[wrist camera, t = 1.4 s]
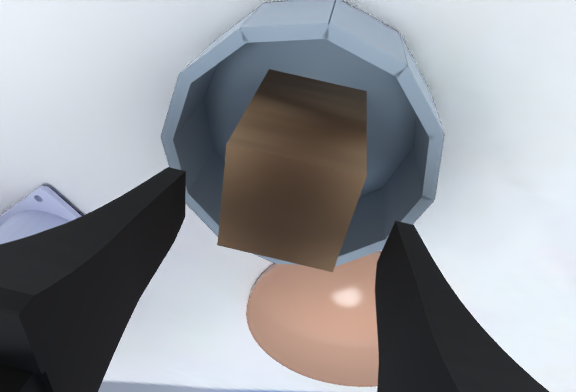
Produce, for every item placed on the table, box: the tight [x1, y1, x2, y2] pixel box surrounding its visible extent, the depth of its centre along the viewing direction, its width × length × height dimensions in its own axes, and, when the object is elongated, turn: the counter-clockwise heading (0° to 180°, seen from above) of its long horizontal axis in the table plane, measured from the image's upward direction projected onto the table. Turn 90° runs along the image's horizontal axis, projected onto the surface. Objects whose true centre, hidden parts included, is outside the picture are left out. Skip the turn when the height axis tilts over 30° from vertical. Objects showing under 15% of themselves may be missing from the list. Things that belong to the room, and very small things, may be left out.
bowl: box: [161, 0, 444, 267], centre depth 18 cm, size 11×11×4 cm
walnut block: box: [217, 69, 367, 272], centre depth 17 cm, size 4×4×7 cm
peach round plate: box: [246, 251, 381, 387], centre depth 28 cm, size 14×14×1 cm
